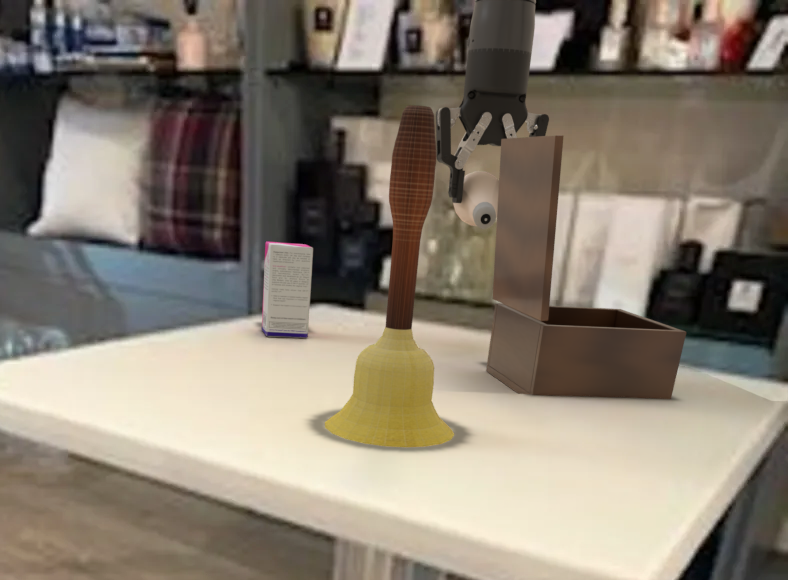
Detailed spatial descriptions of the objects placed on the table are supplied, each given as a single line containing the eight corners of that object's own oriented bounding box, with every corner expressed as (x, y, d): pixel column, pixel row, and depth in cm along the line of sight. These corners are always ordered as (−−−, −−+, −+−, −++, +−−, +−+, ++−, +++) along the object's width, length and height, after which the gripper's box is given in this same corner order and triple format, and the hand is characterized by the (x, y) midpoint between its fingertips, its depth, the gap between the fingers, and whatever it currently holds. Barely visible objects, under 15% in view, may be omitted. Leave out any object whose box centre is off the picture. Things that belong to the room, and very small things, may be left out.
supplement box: (309, 338, 117) (313, 246, 112) (265, 337, 116) (267, 244, 111) (303, 331, 122) (306, 242, 117) (260, 329, 121) (262, 240, 116)
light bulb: (512, 187, 104) (500, 159, 112) (457, 195, 105) (449, 167, 113) (513, 242, 109) (501, 212, 117) (460, 250, 109) (452, 219, 117)
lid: (508, 138, 94) (501, 138, 94) (563, 135, 80) (555, 135, 80) (499, 298, 101) (492, 299, 101) (548, 320, 87) (540, 321, 87)
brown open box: (607, 375, 107) (620, 308, 104) (669, 406, 94) (686, 331, 90) (485, 371, 105) (495, 303, 101) (531, 403, 91) (543, 325, 88)
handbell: (432, 469, 68) (475, 101, 57) (291, 441, 72) (306, 95, 61) (477, 434, 78) (521, 116, 67) (352, 412, 83) (374, 110, 72)
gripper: (449, 41, 99) (434, 202, 106) (569, 50, 101) (547, 208, 109) (433, 48, 106) (420, 200, 113) (546, 57, 108) (526, 206, 115)
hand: (482, 203), depth 111 cm, fingers closed on light bulb, 6 cm apart
